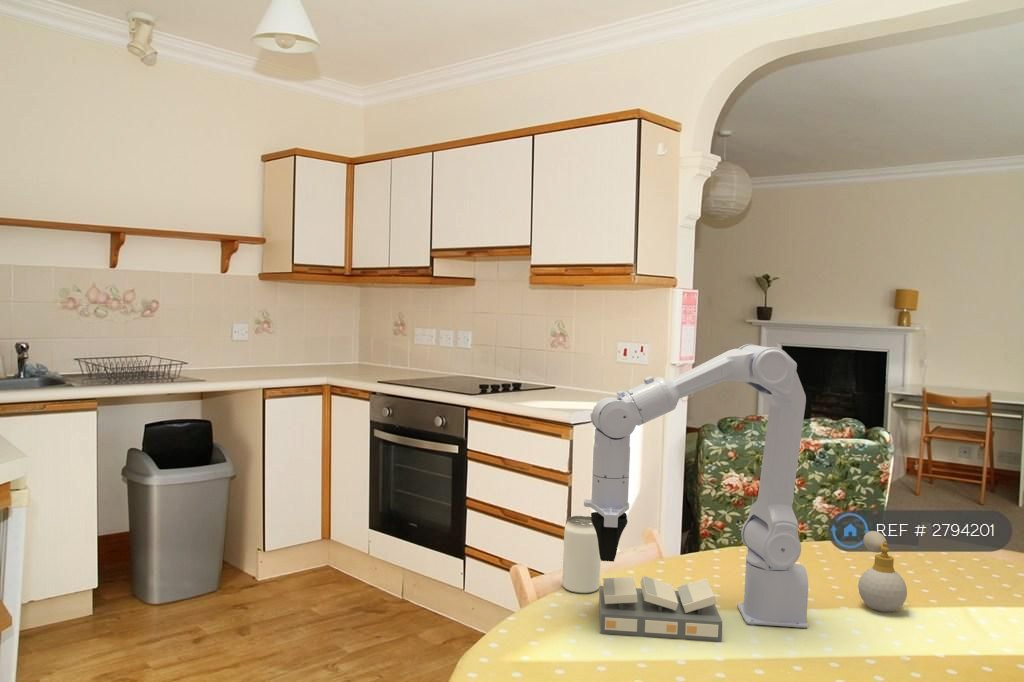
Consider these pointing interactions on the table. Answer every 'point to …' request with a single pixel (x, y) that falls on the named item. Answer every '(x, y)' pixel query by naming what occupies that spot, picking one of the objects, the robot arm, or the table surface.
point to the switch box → (659, 620)
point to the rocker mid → (659, 593)
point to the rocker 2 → (696, 595)
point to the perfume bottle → (881, 578)
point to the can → (581, 556)
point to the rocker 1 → (619, 590)
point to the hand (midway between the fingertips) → (607, 559)
